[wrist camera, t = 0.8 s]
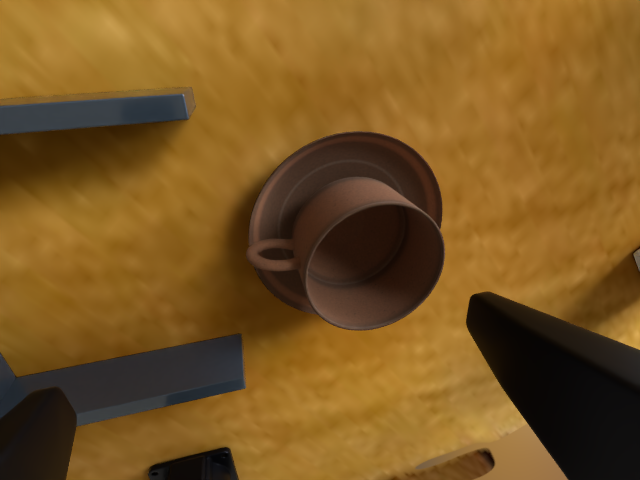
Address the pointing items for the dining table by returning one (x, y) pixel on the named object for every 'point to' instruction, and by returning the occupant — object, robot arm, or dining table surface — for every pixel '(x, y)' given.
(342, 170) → the cup and saucer
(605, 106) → the dining table surface
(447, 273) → the dining table surface
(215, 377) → the u-shaped bracket
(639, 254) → the white packaging box
